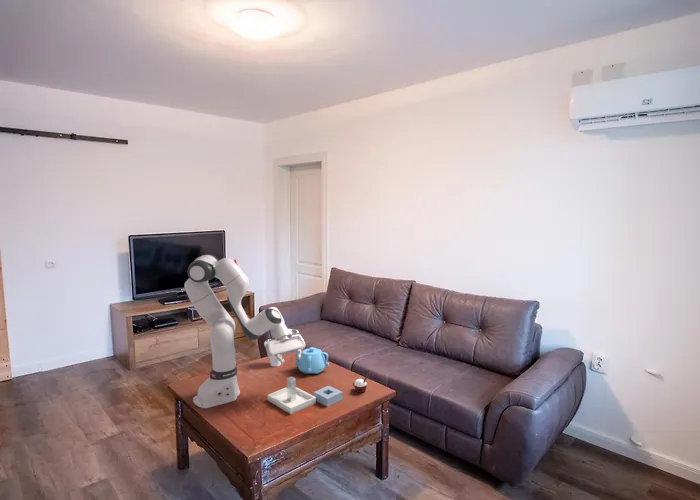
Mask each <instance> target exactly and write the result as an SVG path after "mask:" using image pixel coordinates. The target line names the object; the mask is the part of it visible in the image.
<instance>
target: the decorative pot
mask: <svg viewBox="0 0 700 500" xmlns="http://www.w3.org/2000/svg"><path fill="white" fill-rule="evenodd" d="M297 356H298V353H297V352H295V359H296V361H295V362H294V365H295V366H296V367H297V368H298V370H299V371H300V372H301V373H303V374H304V375H305V374H314V375H319V373H322V372H323V370H324V369H325V368H328V367H329V366H330V363H329V362H328V360H329V354H328V353H327V352H326V351H322V349H320V348H316V347H313V346H311V347H308V348H304V349H303V350H302V351H301V357H302V358H301V359H298V358H297ZM325 356H326V357H325Z"/></svg>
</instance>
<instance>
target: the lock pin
mask: <svg viewBox="0 0 700 500" xmlns="http://www.w3.org/2000/svg"><path fill="white" fill-rule="evenodd" d="M296 385H297V384H296V377H294V376H288V377H287V378H286V387H287V400H288V401H290V402H292V401H295V400H296V387H297V386H296Z"/></svg>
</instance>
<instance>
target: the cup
mask: <svg viewBox="0 0 700 500" xmlns="http://www.w3.org/2000/svg"><path fill="white" fill-rule="evenodd" d="M280 357H281V358H282V359H283V355H281V356H280ZM268 358H269V357H268ZM269 363H270V366H271V367H273V368H274V367H275V368H276V367H280V366H281V365H282V364H281V363H280V361H279V360H278V359H276V357H273V358H269Z"/></svg>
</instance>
